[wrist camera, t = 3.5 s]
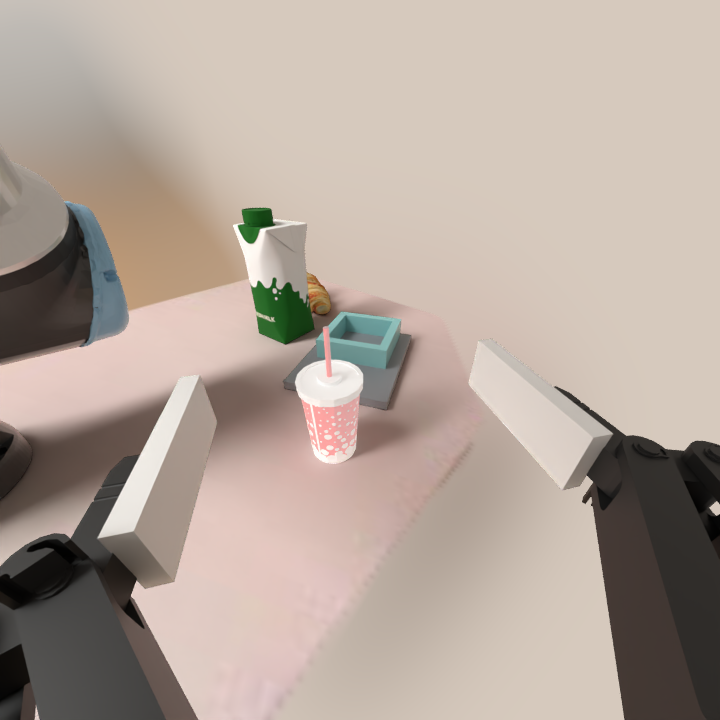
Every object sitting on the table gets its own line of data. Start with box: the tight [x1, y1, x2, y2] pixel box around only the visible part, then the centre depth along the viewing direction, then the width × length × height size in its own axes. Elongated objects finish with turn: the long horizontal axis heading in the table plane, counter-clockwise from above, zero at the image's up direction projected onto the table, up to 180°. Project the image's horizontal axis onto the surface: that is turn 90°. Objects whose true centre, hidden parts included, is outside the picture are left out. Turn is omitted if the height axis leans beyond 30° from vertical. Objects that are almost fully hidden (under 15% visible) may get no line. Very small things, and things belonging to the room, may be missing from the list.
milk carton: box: [233, 208, 314, 344], centre depth 48 cm, size 9×9×20 cm
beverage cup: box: [295, 326, 363, 463], centre depth 27 cm, size 6×6×14 cm
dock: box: [283, 311, 411, 410], centre depth 43 cm, size 18×14×4 cm
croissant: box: [306, 272, 331, 314], centre depth 64 cm, size 21×10×8 cm, turn 40°
